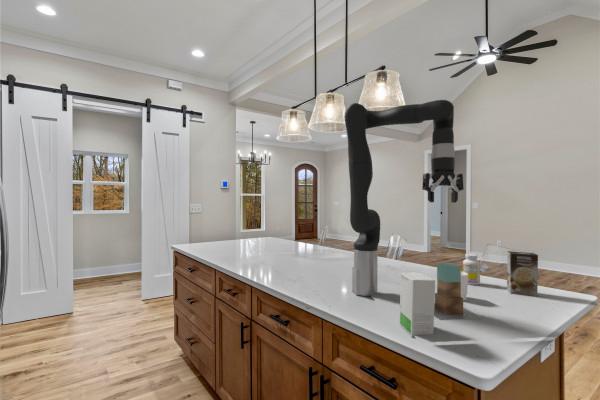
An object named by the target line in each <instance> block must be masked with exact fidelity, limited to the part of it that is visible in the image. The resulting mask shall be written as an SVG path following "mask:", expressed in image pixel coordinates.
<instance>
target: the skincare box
mask: <svg viewBox="0 0 600 400" xmlns="http://www.w3.org/2000/svg"><path fill="white" fill-rule="evenodd" d="M399 292H400V293H399V294H400V295H399V297H400V300H399V302H400V303H399V323H398V324H399V326H400V327H401V329H403V331H405V332H406V333H407V335H409V336H410V338H416V335H417V336H418V335H419V336H420V335H434V331H435V329H434V327H435V326H434V325H435V316H434V304H435V293H436V280H435V279H434V278H431V277H430V276H429V275H426V274H424V273H422V272H413V271H412V272H400V291H399Z"/></svg>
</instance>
